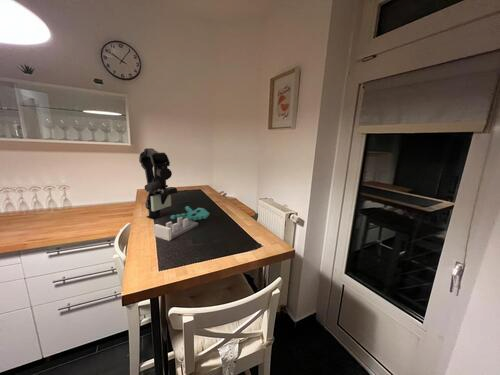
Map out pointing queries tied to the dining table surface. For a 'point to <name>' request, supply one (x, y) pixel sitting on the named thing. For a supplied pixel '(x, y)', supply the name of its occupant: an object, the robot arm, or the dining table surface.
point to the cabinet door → (159, 202)
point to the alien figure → (193, 214)
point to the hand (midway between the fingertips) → (161, 203)
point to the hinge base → (173, 228)
